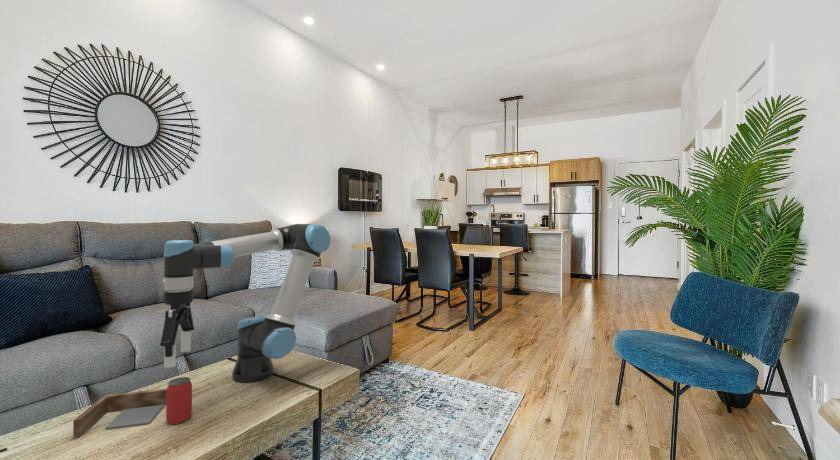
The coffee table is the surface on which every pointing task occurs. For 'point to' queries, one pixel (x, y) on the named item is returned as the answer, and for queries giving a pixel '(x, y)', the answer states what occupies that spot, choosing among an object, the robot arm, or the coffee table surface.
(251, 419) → the coffee table surface
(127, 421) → the coaster
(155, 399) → the wooden corner frame
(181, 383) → the beer can
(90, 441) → the coffee table surface
